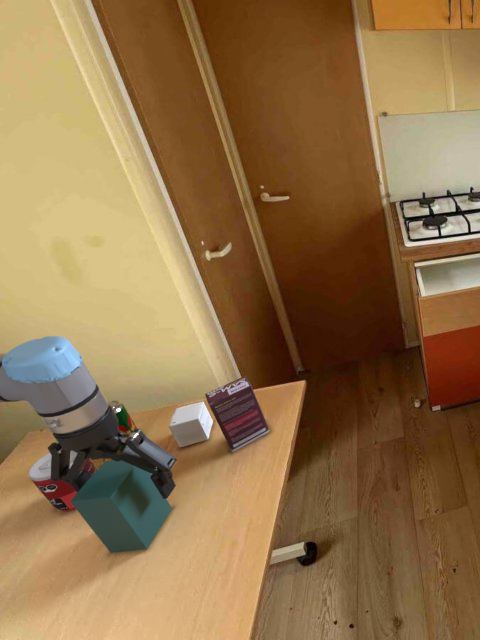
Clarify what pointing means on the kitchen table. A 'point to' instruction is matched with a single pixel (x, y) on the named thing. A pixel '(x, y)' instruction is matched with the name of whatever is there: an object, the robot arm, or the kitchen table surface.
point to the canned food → (56, 491)
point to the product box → (191, 424)
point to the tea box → (122, 506)
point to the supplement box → (237, 413)
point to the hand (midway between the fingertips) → (133, 495)
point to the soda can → (122, 419)
